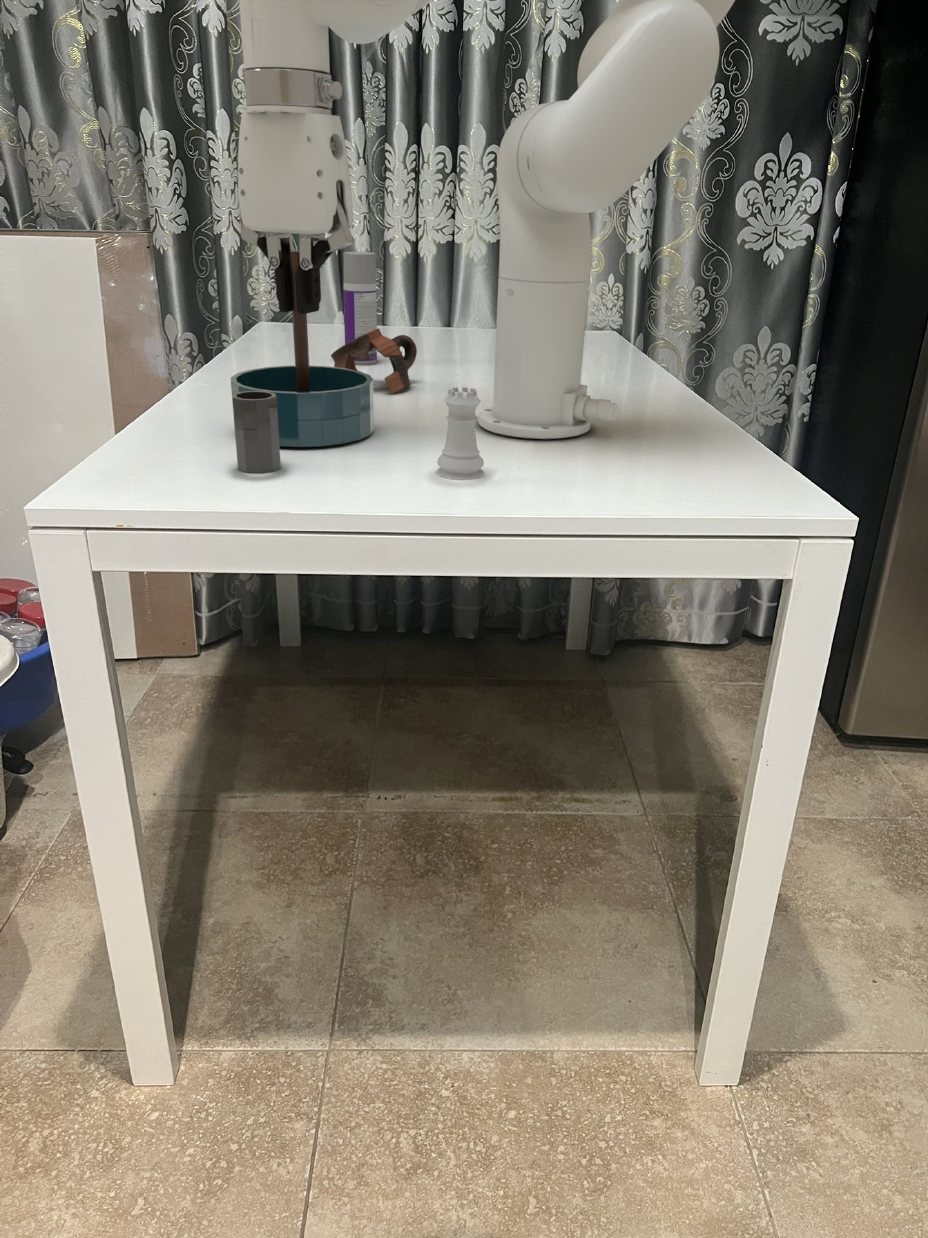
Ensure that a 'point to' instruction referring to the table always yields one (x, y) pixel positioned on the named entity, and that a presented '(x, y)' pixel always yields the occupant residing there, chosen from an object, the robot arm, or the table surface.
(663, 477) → the table surface
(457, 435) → the rook chess piece
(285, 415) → the bowl
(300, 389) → the stick
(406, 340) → the brown twisted loop sculpture
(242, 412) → the utensil cup
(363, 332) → the container
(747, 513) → the table surface
